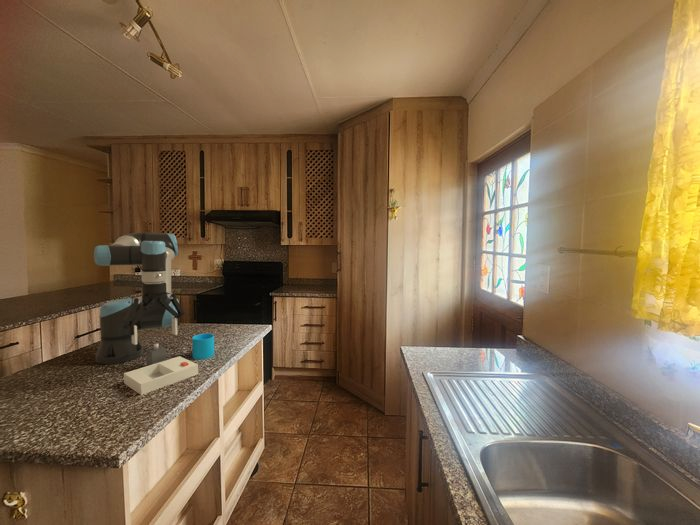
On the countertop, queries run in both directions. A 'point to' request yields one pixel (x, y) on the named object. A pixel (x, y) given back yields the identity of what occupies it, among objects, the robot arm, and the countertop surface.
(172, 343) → the countertop surface
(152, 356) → the plug
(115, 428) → the countertop surface
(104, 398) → the countertop surface
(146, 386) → the socket plate
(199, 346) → the mug
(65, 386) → the countertop surface
